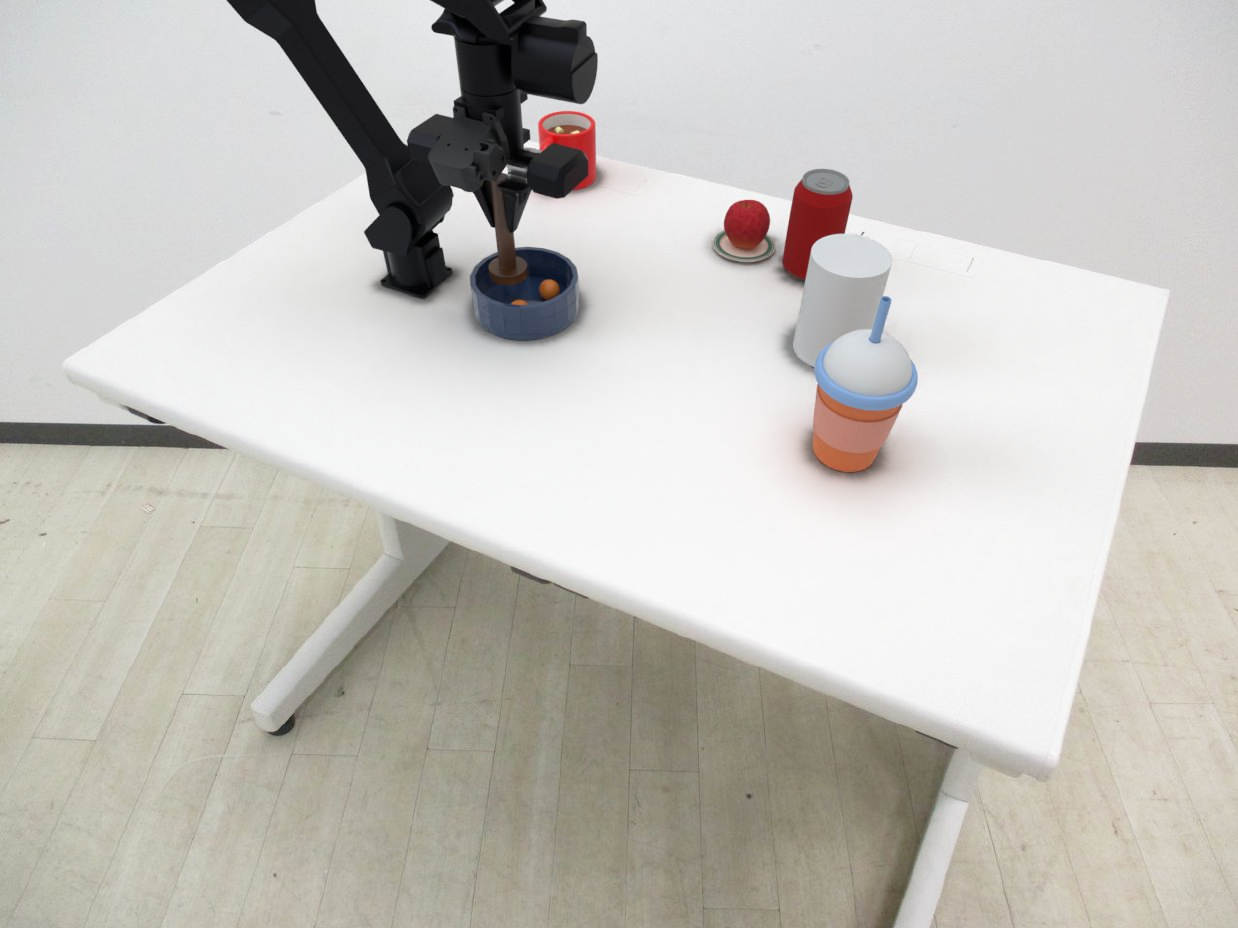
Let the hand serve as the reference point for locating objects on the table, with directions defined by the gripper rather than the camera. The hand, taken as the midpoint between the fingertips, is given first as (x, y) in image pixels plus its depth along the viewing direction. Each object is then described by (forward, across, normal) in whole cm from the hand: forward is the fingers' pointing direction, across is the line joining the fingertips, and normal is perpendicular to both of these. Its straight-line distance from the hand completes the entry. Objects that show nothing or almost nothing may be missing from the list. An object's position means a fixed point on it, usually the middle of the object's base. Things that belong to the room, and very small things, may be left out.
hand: (503, 228), depth 93 cm
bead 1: (+8, +3, -3) cm, 9 cm away
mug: (+10, -9, +28) cm, 31 cm away
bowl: (+10, +2, 0) cm, 10 cm away
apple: (+10, +20, +24) cm, 33 cm away
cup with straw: (+10, +42, -6) cm, 44 cm away
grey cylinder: (+10, +36, +9) cm, 39 cm away
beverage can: (+10, +29, +23) cm, 38 cm away
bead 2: (+8, +4, +2) cm, 9 cm away
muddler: (+6, 0, 0) cm, 6 cm away
